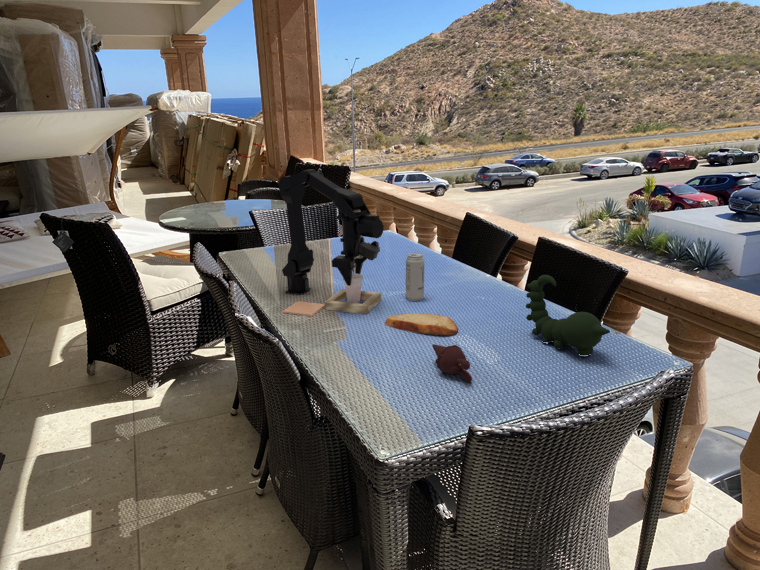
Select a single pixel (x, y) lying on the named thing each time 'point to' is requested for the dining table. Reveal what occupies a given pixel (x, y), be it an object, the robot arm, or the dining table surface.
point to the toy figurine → (563, 322)
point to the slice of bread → (423, 324)
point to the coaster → (304, 308)
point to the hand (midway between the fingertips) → (353, 282)
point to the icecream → (452, 361)
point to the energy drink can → (415, 277)
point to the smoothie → (354, 288)
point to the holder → (338, 305)
